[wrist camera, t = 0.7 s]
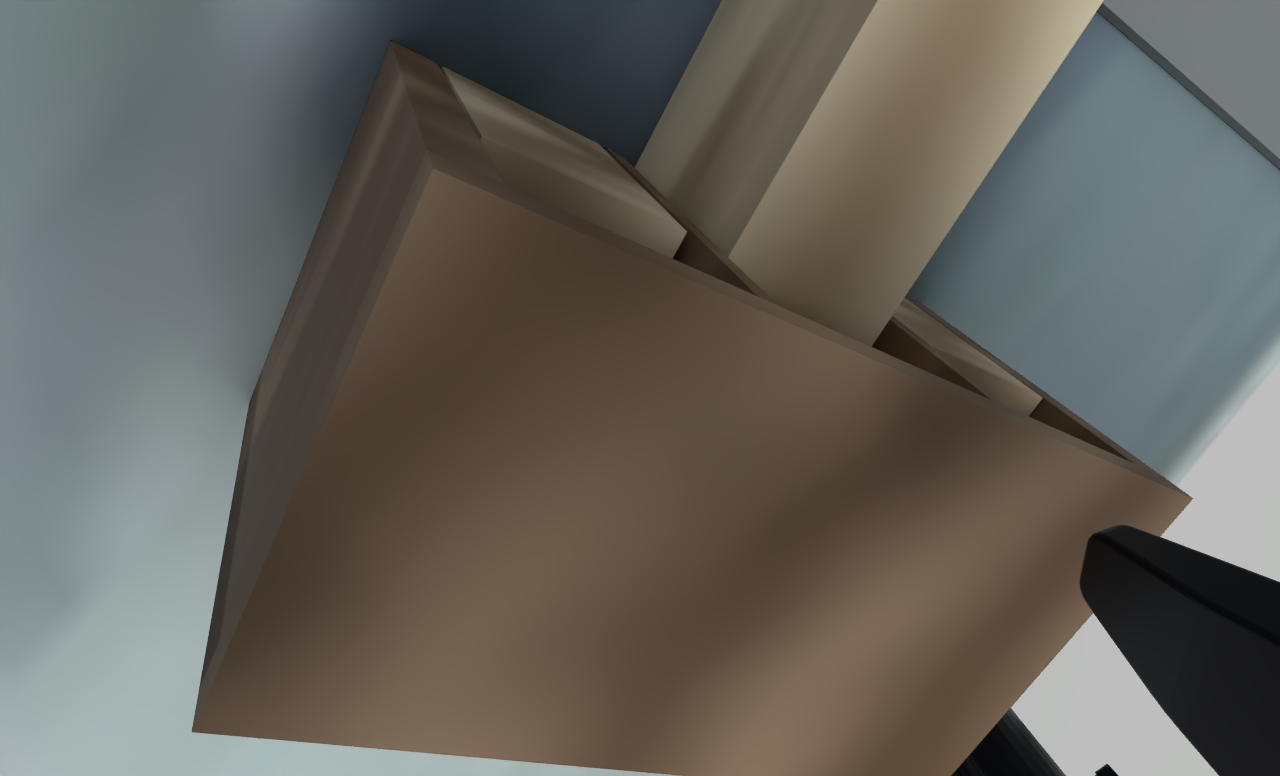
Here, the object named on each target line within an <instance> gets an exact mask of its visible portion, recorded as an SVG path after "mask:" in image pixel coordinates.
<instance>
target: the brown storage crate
mask: <svg viewBox="0 0 1280 776" xmlns="http://www.w3.org/2000/svg"><path fill="white" fill-rule="evenodd" d="M1192 499H1193V498H1192V497H1190V496H1189V495H1188V494H1186V493H1185V492H1183V491H1182V490H1180V489H1179V488H1178V487H1176V486H1175V485H1174V484H1172V483H1171V482H1170V481H1168V480H1167V479H1165V478H1164V477H1163V476H1161V475H1160V474H1158V473H1157V472H1156V471H1154V470H1153V469H1151V468H1150V467H1149V466H1147V465H1146V464H1144V463H1143V462H1142V461H1140V460H1139V459H1137V458H1136V457H1135V456H1133V455H1132V454H1130V453H1129V452H1128V451H1126V450H1125V449H1123V448H1122V447H1121V446H1119V445H1118V444H1116V443H1115V442H1114V441H1112V440H1111V439H1110V438H1108V437H1107V436H1105V435H1104V434H1103V433H1101V432H1100V431H1098V430H1097V429H1096V428H1094V427H1093V426H1091V425H1090V424H1089V423H1087V422H1086V421H1084V420H1083V419H1082V418H1080V417H1079V416H1077V415H1076V414H1075V413H1073V412H1072V411H1070V410H1069V409H1068V408H1066V407H1065V406H1063V405H1062V404H1061V403H1059V402H1058V401H1056V400H1055V399H1054V398H1052V397H1051V396H1050V395H1048V394H1047V393H1045V392H1044V391H1043V390H1041V389H1040V388H1038V387H1037V386H1036V385H1034V384H1033V383H1031V382H1030V381H1029V380H1027V379H1026V378H1024V377H1023V376H1022V375H1020V374H1019V373H1017V372H1016V371H1015V370H1013V369H1012V368H1010V367H1009V366H1008V365H1006V364H1005V363H1003V362H1002V361H1001V360H999V359H998V358H997V357H995V356H994V355H992V354H991V353H990V352H988V351H987V350H985V349H984V348H983V347H981V346H980V345H978V344H977V343H976V342H974V341H973V340H971V339H970V338H969V337H967V336H966V335H964V334H963V333H962V332H960V331H959V330H957V329H956V328H955V327H953V326H952V325H950V324H949V323H948V322H946V321H945V320H943V319H942V318H941V317H939V316H938V315H937V314H935V313H934V312H932V311H931V310H930V309H928V308H927V307H925V306H924V305H922V304H920V303H918V302H916V301H914V300H912V299H910V298H908V297H906V296H905V297H904V299H903V300H902V302H901V303H900V305H899V306H898V308H897V309H896V311H895V312H894V314H893V315H892V317H891V318H890V320H889V321H888V323H887V324H886V326H885V327H884V329H883V330H882V332H881V333H880V335H879V336H878V338H877V339H876V341H875V342H874V344H873V345H872V347H870V346H868V345H866V344H864V343H861V342H859V341H857V340H855V339H852V338H850V337H848V336H846V335H843V334H841V333H839V332H837V331H834V330H832V329H830V328H828V327H825V326H823V325H821V324H819V323H816V322H814V321H812V320H810V319H807V318H805V317H803V316H801V315H798V314H796V313H794V312H792V311H789V310H787V309H785V308H783V307H780V306H779V305H778V304H777V303H775V302H774V301H773V300H772V299H771V298H770V297H769V296H768V295H767V294H766V293H765V292H764V291H763V290H762V289H761V288H760V287H759V286H758V285H757V284H756V283H755V282H753V281H752V280H751V279H750V278H749V277H748V276H747V275H746V274H745V273H744V272H743V271H742V270H741V269H740V268H739V267H738V266H737V265H736V264H735V263H734V262H732V261H731V260H730V259H729V258H728V257H727V256H726V255H725V254H724V253H723V252H722V251H721V250H720V249H719V248H718V247H717V246H716V245H715V244H714V243H713V242H712V241H710V240H709V239H708V238H707V237H706V236H705V235H704V234H703V233H702V232H701V231H700V230H699V229H698V228H697V227H696V226H695V225H694V224H693V223H692V222H691V221H690V220H688V219H687V218H686V217H685V216H684V215H683V214H682V213H681V212H680V211H679V210H678V209H677V208H676V207H675V206H674V205H673V204H672V203H671V202H670V201H669V200H668V199H666V198H665V197H664V196H663V195H662V194H661V193H660V192H659V191H658V190H657V189H656V188H655V187H654V186H653V185H652V184H651V183H650V182H649V181H648V180H647V179H645V178H644V177H643V176H642V175H641V174H640V173H639V172H638V171H637V170H636V169H635V168H634V167H633V166H632V165H631V164H630V163H629V162H628V161H627V160H626V159H625V158H623V157H622V156H621V155H620V154H618V153H616V152H614V151H612V150H610V149H608V148H605V150H604V149H603V148H602V147H601V146H600V145H599V144H598V143H596V142H594V141H592V140H590V139H588V138H586V137H584V136H582V135H580V134H578V133H576V132H574V131H572V130H570V129H568V128H566V127H564V126H562V125H560V124H558V123H556V122H554V121H552V120H550V119H548V118H546V117H544V116H542V115H540V114H538V113H536V112H534V111H532V110H530V109H528V108H526V107H524V106H522V105H520V104H518V103H516V102H514V101H512V100H510V99H508V98H506V97H504V96H502V95H500V94H498V93H496V92H494V91H492V90H490V89H488V88H486V87H484V86H482V85H480V84H478V83H476V82H474V81H471V80H469V79H467V78H465V77H463V76H461V75H459V74H457V73H455V72H453V71H451V70H449V69H447V68H445V67H443V66H442V67H441V69H440V67H439V65H438V64H437V63H435V62H433V61H431V60H429V59H427V58H425V57H423V56H421V55H419V54H417V53H415V52H413V51H411V50H409V49H407V48H405V47H403V46H401V45H399V44H397V43H395V42H393V41H391V40H390V43H389V46H388V48H387V51H386V53H385V56H384V58H383V61H382V64H381V66H380V69H379V71H378V74H377V76H376V79H375V82H374V84H373V87H372V89H371V92H370V94H369V97H368V100H367V102H366V105H365V107H364V110H363V112H362V115H361V117H360V120H359V123H358V125H357V128H356V130H355V133H354V135H353V138H352V141H351V143H350V146H349V148H348V151H347V153H346V156H345V159H344V161H343V164H342V166H341V169H340V171H339V174H338V177H337V179H336V182H335V184H334V187H333V189H332V192H331V195H330V197H329V200H328V202H327V205H326V207H325V210H324V213H323V215H322V218H321V220H320V223H319V225H318V228H317V231H316V233H315V236H314V238H313V241H312V243H311V246H310V249H309V251H308V254H307V256H306V259H305V261H304V264H303V267H302V269H301V272H300V274H299V277H298V279H297V282H296V285H295V287H294V290H293V292H292V295H291V297H290V300H289V303H288V305H287V308H286V310H285V313H284V315H283V318H282V321H281V323H280V326H279V328H278V331H277V333H276V336H275V339H274V341H273V344H272V346H271V349H270V351H269V354H268V357H267V359H266V362H265V364H264V367H263V369H262V372H261V375H260V377H259V380H258V382H257V385H256V387H255V390H254V393H253V395H252V398H251V400H250V403H249V407H248V413H247V419H246V424H245V430H244V436H243V442H242V447H241V453H240V459H239V465H238V470H237V476H236V482H235V487H234V493H233V499H232V505H231V510H230V516H229V522H228V527H227V533H226V539H225V545H224V550H223V556H222V562H221V567H220V573H219V579H218V585H217V590H216V596H215V602H214V607H213V613H212V619H211V625H210V630H209V636H208V642H207V647H206V653H205V659H204V665H203V670H202V676H201V682H200V687H199V693H198V699H197V705H196V710H195V716H194V722H193V727H192V732H197V733H208V734H219V735H231V736H242V737H253V738H264V739H276V740H287V741H298V742H309V743H321V744H332V745H343V746H355V747H366V748H377V749H388V750H400V751H411V752H422V753H433V754H445V755H456V756H467V757H479V758H490V759H501V760H512V761H524V762H535V763H546V764H557V765H569V766H580V767H591V768H602V769H614V770H625V771H636V772H648V773H659V774H670V775H681V776H951V775H952V774H953V773H954V772H955V771H956V769H957V768H958V767H959V766H960V765H961V764H962V763H963V761H964V760H965V759H966V758H967V757H968V756H969V755H970V753H971V752H972V751H973V750H974V749H975V748H976V747H977V745H978V744H979V743H980V742H981V741H982V740H983V739H984V737H985V736H986V735H987V734H988V733H989V732H990V731H991V729H992V728H993V727H994V726H995V725H996V724H997V723H998V721H999V720H1000V719H1001V718H1002V717H1003V716H1004V714H1005V713H1006V712H1007V711H1008V710H1009V709H1010V708H1011V706H1012V705H1013V704H1014V703H1015V702H1016V701H1017V700H1018V698H1019V697H1020V696H1021V695H1022V694H1023V693H1024V692H1025V690H1026V689H1027V688H1028V687H1029V686H1030V685H1031V683H1032V682H1033V681H1034V680H1035V679H1036V678H1037V677H1038V676H1039V674H1040V673H1041V672H1042V671H1043V670H1044V669H1045V668H1046V666H1047V665H1048V664H1049V663H1050V662H1051V661H1052V659H1053V658H1054V657H1055V656H1056V655H1057V654H1058V653H1059V652H1060V650H1061V649H1062V648H1063V647H1064V646H1065V645H1066V644H1067V642H1068V641H1069V640H1070V639H1071V638H1072V636H1073V635H1074V634H1075V633H1076V632H1077V631H1078V630H1079V629H1080V628H1081V626H1082V625H1083V624H1084V623H1085V622H1086V621H1087V619H1088V618H1089V617H1090V616H1091V615H1092V614H1093V611H1092V610H1091V609H1090V607H1089V606H1088V604H1087V603H1086V601H1085V600H1084V598H1083V595H1082V593H1081V590H1080V585H1079V579H1080V574H1081V569H1082V564H1083V559H1084V554H1085V550H1086V545H1087V541H1088V539H1089V537H1090V536H1091V535H1092V534H1094V533H1096V532H1099V531H1102V530H1104V529H1107V528H1110V527H1113V526H1116V525H1128V526H1132V527H1135V528H1138V529H1140V530H1143V531H1145V532H1148V533H1151V534H1153V535H1156V536H1159V537H1160V536H1161V535H1162V534H1163V533H1164V531H1165V530H1166V529H1167V528H1168V527H1169V525H1170V524H1171V523H1172V522H1173V521H1174V520H1175V519H1176V518H1177V516H1178V515H1179V514H1180V513H1181V512H1182V511H1183V510H1184V508H1185V507H1186V506H1187V505H1188V504H1189V503H1190V501H1191V500H1192Z"/></svg>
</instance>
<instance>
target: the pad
mask: <svg viewBox="0 0 1280 776" xmlns="http://www.w3.org/2000/svg"><path fill="white" fill-rule="evenodd" d="M1097 11H1098V12H1099V13H1100V14H1101V15H1102V16H1104V17H1105V18H1106V19H1107V20H1108V21H1109V22H1110V23H1112V24H1113V25H1114V26H1115V27H1116V28H1117V29H1119V30H1120V31H1121V32H1122V33H1123V34H1124V35H1125V36H1127V37H1128V38H1129V39H1130V40H1131V41H1132V42H1134V43H1135V44H1136V45H1137V46H1138V47H1139V48H1140V49H1142V50H1143V51H1144V52H1145V53H1146V54H1147V55H1149V56H1150V57H1151V58H1152V59H1153V60H1154V61H1155V62H1157V63H1158V64H1159V65H1160V66H1161V67H1162V68H1164V69H1165V70H1166V71H1167V72H1168V73H1169V74H1170V75H1172V76H1173V77H1174V78H1175V79H1176V80H1177V81H1179V82H1180V83H1181V84H1182V85H1183V86H1184V87H1185V88H1187V89H1188V90H1189V91H1190V92H1191V93H1192V94H1193V95H1195V96H1196V97H1197V98H1198V99H1199V100H1200V101H1202V102H1203V103H1204V104H1205V105H1206V106H1207V107H1208V108H1210V109H1211V110H1212V111H1213V112H1214V113H1215V114H1217V115H1218V116H1219V117H1220V118H1221V119H1222V120H1223V121H1225V122H1226V123H1227V124H1228V125H1229V126H1230V127H1232V128H1233V129H1234V130H1235V131H1236V132H1237V133H1238V134H1240V135H1241V136H1242V137H1243V138H1244V139H1245V140H1247V141H1248V142H1249V143H1250V144H1251V145H1252V146H1253V147H1255V148H1256V149H1257V150H1258V151H1259V152H1260V153H1262V154H1263V155H1264V156H1265V157H1266V158H1267V159H1268V160H1270V161H1271V162H1272V163H1273V164H1274V165H1275V166H1276V167H1278V168H1279V169H1280V0H1104V1H1103V2H1102V4H1101V5H1100V7H1099V8H1098V10H1097Z"/></svg>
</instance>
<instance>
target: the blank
mask: <svg viewBox="0 0 1280 776" xmlns="http://www.w3.org/2000/svg"><path fill="white" fill-rule="evenodd" d="M1103 1H1104V0H722V1H721V3H720V5H719V7H718V9H717V11H716V13H715V14H714V16H713V18H712V20H711V22H710V24H709V26H708V28H707V30H706V32H705V34H704V36H703V37H702V39H701V41H700V43H699V45H698V47H697V49H696V51H695V53H694V55H693V57H692V59H691V60H690V62H689V64H688V66H687V68H686V70H685V72H684V74H683V76H682V78H681V80H680V82H679V83H678V85H677V87H676V89H675V91H674V93H673V95H672V97H671V99H670V101H669V103H668V105H667V106H666V108H665V110H664V112H663V114H662V116H661V118H660V120H659V122H658V124H657V126H656V128H655V130H654V131H653V133H652V135H651V137H650V139H649V141H648V143H647V145H646V147H645V149H644V151H643V153H642V154H641V156H640V158H639V160H638V162H637V164H636V166H635V169H636V170H637V171H638V172H639V173H640V174H641V175H642V176H643V177H644V178H645V179H647V180H648V181H649V182H650V183H651V184H652V185H653V186H654V187H655V188H656V189H657V190H658V191H659V192H660V193H661V194H662V195H663V196H664V197H665V198H666V199H668V200H669V201H670V202H671V203H672V204H673V205H674V206H675V207H676V208H677V209H678V210H679V211H680V212H681V213H682V214H683V215H684V216H685V217H686V218H687V219H688V220H690V221H691V222H692V223H693V224H694V225H695V226H696V227H697V228H698V229H699V230H700V231H701V232H702V233H703V234H704V235H705V236H706V237H707V238H708V239H709V240H710V241H712V242H713V243H714V244H715V245H716V246H717V247H718V248H719V249H720V250H721V251H722V252H723V253H724V254H725V255H726V256H727V257H728V258H729V259H730V260H731V261H732V262H734V263H735V264H736V265H737V266H738V267H739V268H740V269H741V270H742V271H743V272H744V273H745V274H746V275H747V276H748V277H749V278H750V279H751V280H752V281H753V282H755V283H756V284H757V285H758V286H759V287H760V288H761V289H762V290H763V291H764V292H765V293H766V294H767V295H768V296H769V297H770V298H771V299H772V300H773V301H774V302H775V303H777V304H778V305H779V306H780V307H783V308H785V309H787V310H789V311H792V312H794V313H796V314H798V315H801V316H803V317H805V318H807V319H810V320H812V321H814V322H816V323H819V324H821V325H823V326H825V327H828V328H830V329H832V330H834V331H837V332H839V333H841V334H843V335H846V336H848V337H850V338H852V339H855V340H857V341H859V342H861V343H864V344H866V345H868V346H870V347H872V345H873V344H874V342H875V341H876V339H877V338H878V336H879V335H880V333H881V332H882V330H883V329H884V327H885V326H886V324H887V323H888V321H889V320H890V318H891V317H892V315H893V314H894V312H895V311H896V309H897V308H898V306H899V305H900V303H901V302H902V300H903V299H904V297H905V296H906V294H907V293H908V291H909V290H910V288H911V287H912V285H913V284H914V282H915V281H916V279H917V278H918V277H919V275H920V274H921V272H922V271H923V269H924V268H925V266H926V265H927V263H928V262H929V260H930V259H931V257H932V256H933V254H934V253H935V251H936V250H937V248H938V247H939V245H940V244H941V242H942V241H943V239H944V238H945V236H946V235H947V233H948V232H949V230H950V229H951V227H952V226H953V224H954V223H955V221H956V220H957V218H958V217H959V215H960V214H961V212H962V211H963V209H964V208H965V206H966V205H967V203H968V202H969V201H970V199H971V198H972V196H973V195H974V193H975V192H976V190H977V189H978V187H979V186H980V184H981V183H982V181H983V180H984V178H985V177H986V175H987V174H988V172H989V171H990V169H991V168H992V166H993V165H994V163H995V162H996V160H997V159H998V157H999V156H1000V154H1001V153H1002V151H1003V150H1004V148H1005V147H1006V145H1007V144H1008V142H1009V141H1010V139H1011V138H1012V136H1013V135H1014V133H1015V132H1016V130H1017V129H1018V127H1019V126H1020V125H1021V123H1022V122H1023V120H1024V119H1025V117H1026V116H1027V114H1028V113H1029V111H1030V110H1031V108H1032V107H1033V105H1034V104H1035V102H1036V101H1037V99H1038V98H1039V96H1040V95H1041V93H1042V92H1043V90H1044V89H1045V87H1046V86H1047V84H1048V83H1049V81H1050V80H1051V78H1052V77H1053V75H1054V74H1055V72H1056V71H1057V69H1058V68H1059V66H1060V65H1061V63H1062V62H1063V60H1064V59H1065V57H1066V56H1067V54H1068V53H1069V52H1070V50H1071V49H1072V47H1073V46H1074V44H1075V43H1076V41H1077V40H1078V38H1079V37H1080V35H1081V34H1082V32H1083V31H1084V29H1085V28H1086V26H1087V25H1088V23H1089V22H1090V20H1091V19H1092V17H1093V16H1094V14H1095V13H1096V11H1097V10H1098V8H1099V7H1100V5H1101V4H1102V2H1103Z"/></svg>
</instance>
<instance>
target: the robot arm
mask: <svg viewBox="0 0 1280 776" xmlns="http://www.w3.org/2000/svg"><path fill="white" fill-rule="evenodd" d="M1079 585H1080V590H1081V593H1082V595H1083V598H1084V600H1085V601H1086V603H1087V604H1088V606H1089V607H1090V609H1091V610H1092V611H1093V613H1094V614H1095V616H1096V617H1097V618H1098V620H1099V621H1100V623H1101V624H1102V626H1103V627H1104V628H1105V630H1106V631H1107V632H1108V634H1109V635H1110V637H1111V638H1112V639H1113V641H1114V642H1115V644H1116V645H1117V647H1118V648H1119V649H1120V651H1121V652H1122V653H1123V655H1124V656H1125V658H1126V659H1127V661H1128V662H1129V663H1130V665H1131V666H1132V668H1133V669H1134V670H1135V672H1136V673H1137V674H1138V676H1139V677H1140V679H1141V680H1142V682H1143V683H1144V684H1145V686H1146V687H1147V689H1148V690H1149V691H1150V693H1151V694H1152V696H1153V697H1154V698H1155V700H1156V701H1157V702H1158V704H1159V705H1160V706H1161V707H1162V709H1163V710H1164V711H1165V713H1166V714H1167V715H1168V716H1169V717H1170V719H1171V720H1172V721H1173V722H1174V724H1175V725H1176V726H1177V727H1178V728H1179V730H1180V731H1181V732H1182V733H1183V734H1184V735H1185V737H1186V738H1187V739H1188V740H1189V741H1190V742H1191V744H1192V745H1193V746H1194V747H1195V748H1196V749H1197V751H1198V752H1199V753H1200V754H1201V755H1202V756H1203V757H1204V759H1205V760H1206V761H1207V762H1208V763H1209V765H1210V766H1211V767H1212V768H1213V769H1214V770H1215V771H1216V773H1217V774H1218V775H1219V776H1280V582H1278V581H1275V580H1273V579H1270V578H1267V577H1265V576H1262V575H1259V574H1257V573H1254V572H1252V571H1249V570H1246V569H1244V568H1241V567H1238V566H1236V565H1233V564H1230V563H1228V562H1225V561H1222V560H1220V559H1217V558H1214V557H1212V556H1209V555H1207V554H1204V553H1201V552H1199V551H1196V550H1193V549H1190V548H1188V547H1185V546H1183V545H1180V544H1177V543H1175V542H1172V541H1169V540H1167V539H1164V538H1161V537H1159V536H1156V535H1153V534H1151V533H1148V532H1145V531H1143V530H1140V529H1138V528H1135V527H1132V526H1128V525H1116V526H1113V527H1110V528H1107V529H1104V530H1102V531H1099V532H1096V533H1094V534H1092V535H1091V536H1090V537H1089V539H1088V541H1087V545H1086V550H1085V554H1084V559H1083V564H1082V569H1081V574H1080V579H1079ZM1095 773H1096V775H1095V776H1118V775H1117V774H1116V773H1115V772H1114V771H1113V769H1112V768H1111V767H1110V766H1109V765H1108V764H1106V765H1105V766H1103V767H1102V768H1100V769H1099V770H1098V771H1096V772H1095ZM951 776H1066V775H1065V774H1064V773H1063V772H1062V770H1061V769H1060V768H1059V767H1058V766H1057V764H1056V763H1055V762H1054V761H1053V759H1052V758H1051V757H1050V756H1049V754H1048V753H1047V752H1046V751H1045V750H1044V748H1043V747H1042V746H1041V745H1040V744H1039V742H1038V741H1037V740H1036V739H1035V737H1034V736H1033V735H1032V734H1031V732H1030V731H1029V730H1028V729H1027V728H1026V726H1025V725H1024V724H1023V723H1022V721H1020V719H1019V718H1018V717H1017V715H1016V714H1015V713H1014V712H1013V710H1012V709H1011V708H1010V709H1009V710H1008V711H1007V712H1006V713H1005V714H1004V716H1003V717H1002V718H1001V719H1000V720H999V721H998V723H997V724H996V725H995V726H994V727H993V728H992V729H991V731H990V732H989V733H988V734H987V735H986V736H985V737H984V739H983V740H982V741H981V742H980V743H979V744H978V745H977V747H976V748H975V749H974V750H973V751H972V752H971V753H970V755H969V756H968V757H967V758H966V759H965V760H964V761H963V763H962V764H961V765H960V766H959V767H958V768H957V769H956V771H955V772H954V773H953V774H952V775H951Z"/></svg>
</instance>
